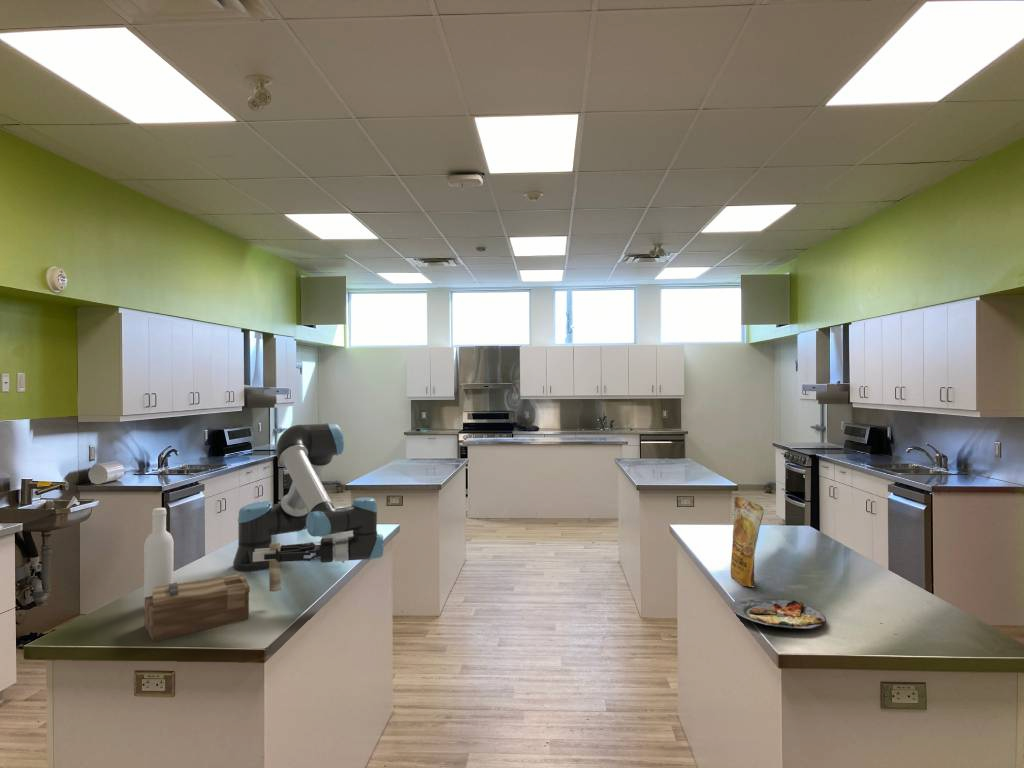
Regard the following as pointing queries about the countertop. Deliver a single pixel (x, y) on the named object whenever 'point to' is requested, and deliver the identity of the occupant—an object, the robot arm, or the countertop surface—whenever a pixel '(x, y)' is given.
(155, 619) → the toolbox
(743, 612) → the food plate
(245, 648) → the countertop surface
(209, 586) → the toolbox lid
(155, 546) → the bottle
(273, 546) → the pin
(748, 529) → the pancake mix bag
